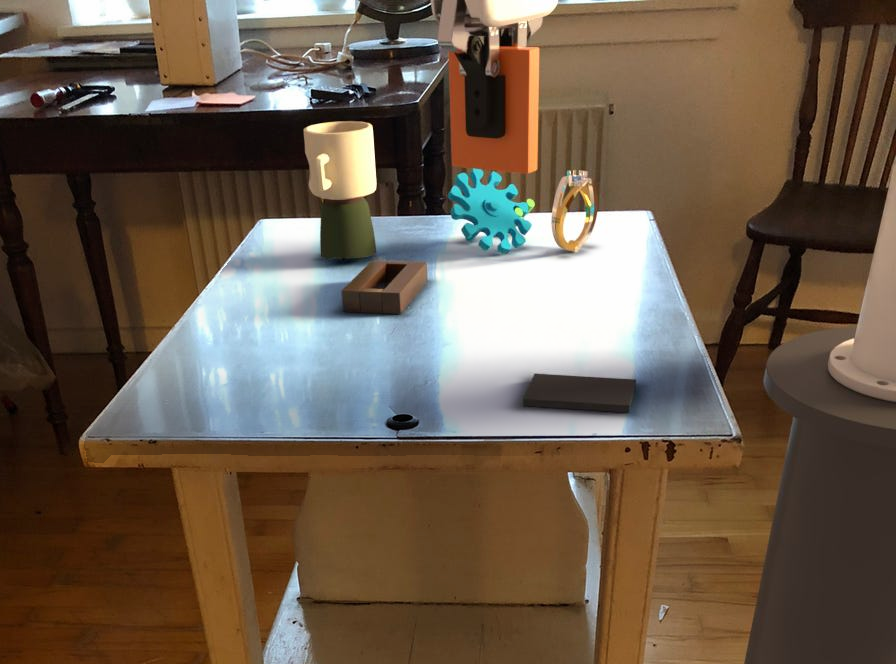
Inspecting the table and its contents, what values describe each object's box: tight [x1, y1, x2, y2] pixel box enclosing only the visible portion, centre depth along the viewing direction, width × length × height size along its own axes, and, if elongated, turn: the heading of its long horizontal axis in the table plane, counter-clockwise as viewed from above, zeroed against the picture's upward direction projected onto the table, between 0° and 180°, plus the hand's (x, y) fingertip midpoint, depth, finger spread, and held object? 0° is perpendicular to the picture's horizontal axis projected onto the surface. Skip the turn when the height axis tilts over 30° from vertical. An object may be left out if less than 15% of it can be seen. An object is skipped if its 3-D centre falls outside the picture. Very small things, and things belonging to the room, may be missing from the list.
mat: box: [522, 373, 637, 414], centre depth 75 cm, size 8×5×1 cm, turn 74°
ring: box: [550, 169, 599, 253], centre depth 103 cm, size 7×3×8 cm, turn 134°
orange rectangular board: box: [447, 46, 540, 175], centre depth 72 cm, size 1×7×8 cm, turn 53°
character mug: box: [303, 120, 378, 263], centre depth 103 cm, size 11×7×13 cm, turn 158°
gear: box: [447, 168, 536, 255], centre depth 108 cm, size 11×6×10 cm
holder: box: [340, 259, 429, 315], centre depth 96 cm, size 6×10×2 cm, turn 164°
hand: (493, 132), depth 73 cm, fingers closed on orange rectangular board, 1 cm apart
